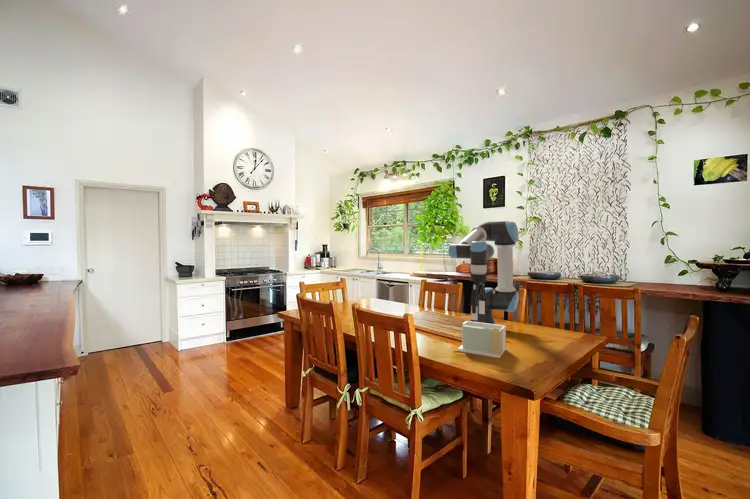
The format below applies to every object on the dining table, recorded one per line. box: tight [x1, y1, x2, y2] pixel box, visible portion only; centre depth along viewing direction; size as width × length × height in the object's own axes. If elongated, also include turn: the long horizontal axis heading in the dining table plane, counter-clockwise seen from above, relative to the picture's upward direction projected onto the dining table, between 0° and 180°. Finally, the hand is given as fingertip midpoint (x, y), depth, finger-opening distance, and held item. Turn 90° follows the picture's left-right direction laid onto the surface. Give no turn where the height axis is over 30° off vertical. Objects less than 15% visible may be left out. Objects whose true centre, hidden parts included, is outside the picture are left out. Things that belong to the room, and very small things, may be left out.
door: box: [463, 325, 502, 355], centre depth 178 cm, size 5×18×11 cm, turn 59°
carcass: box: [457, 320, 507, 359], centre depth 181 cm, size 14×20×12 cm
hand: (478, 316), depth 178 cm, fingers open, 13 cm apart
